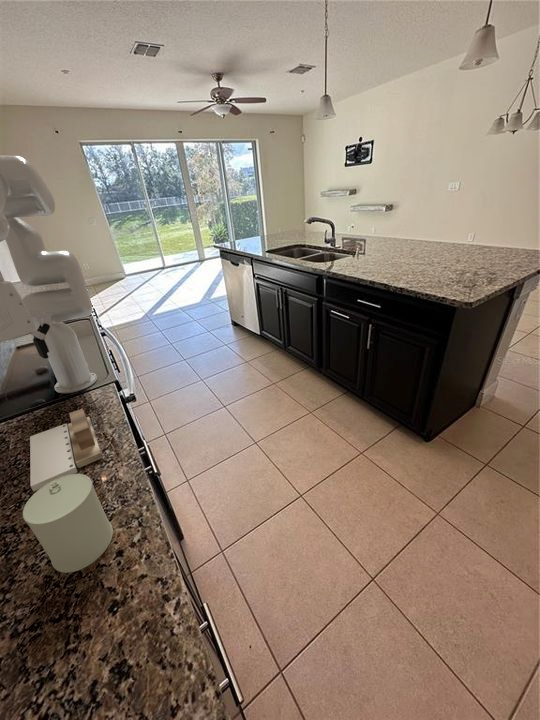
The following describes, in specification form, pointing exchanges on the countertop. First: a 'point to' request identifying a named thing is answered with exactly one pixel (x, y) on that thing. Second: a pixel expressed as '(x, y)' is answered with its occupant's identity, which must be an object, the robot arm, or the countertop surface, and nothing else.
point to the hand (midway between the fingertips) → (16, 366)
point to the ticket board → (51, 456)
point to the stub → (83, 439)
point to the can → (69, 522)
